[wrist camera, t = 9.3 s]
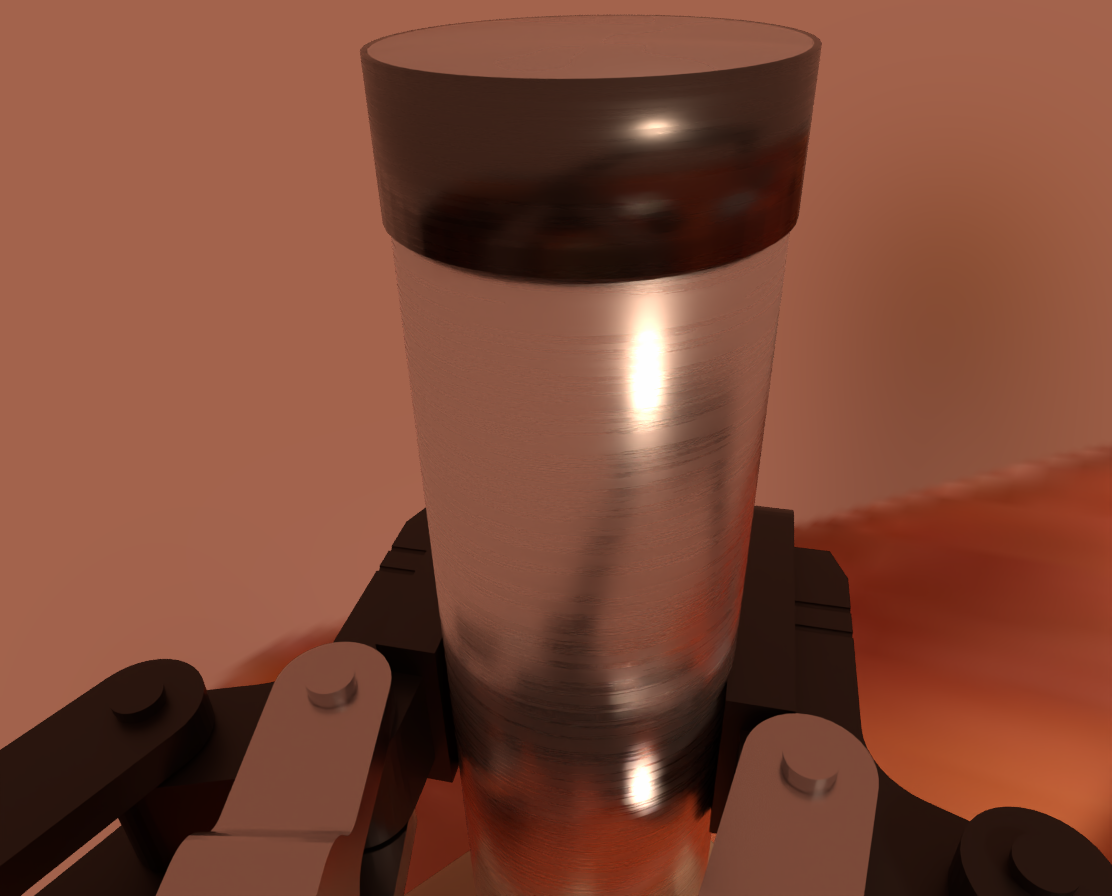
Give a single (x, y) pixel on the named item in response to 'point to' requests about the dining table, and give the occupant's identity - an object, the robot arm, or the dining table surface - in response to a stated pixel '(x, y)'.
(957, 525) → the dining table surface
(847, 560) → the dining table surface
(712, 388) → the pin
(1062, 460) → the dining table surface
